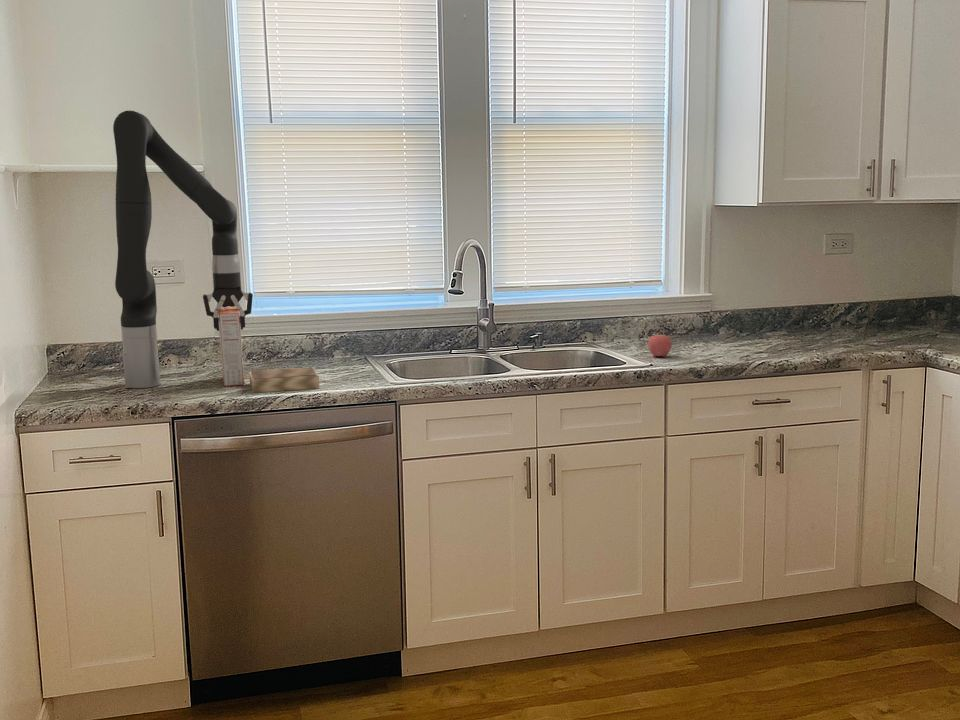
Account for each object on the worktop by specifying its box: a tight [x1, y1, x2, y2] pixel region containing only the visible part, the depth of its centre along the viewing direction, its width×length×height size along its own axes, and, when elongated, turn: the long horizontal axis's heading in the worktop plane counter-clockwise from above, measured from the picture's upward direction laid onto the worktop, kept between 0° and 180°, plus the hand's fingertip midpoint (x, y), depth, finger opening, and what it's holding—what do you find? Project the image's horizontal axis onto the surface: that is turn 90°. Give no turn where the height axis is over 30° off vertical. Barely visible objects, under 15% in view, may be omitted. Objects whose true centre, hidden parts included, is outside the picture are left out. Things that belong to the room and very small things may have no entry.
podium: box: [249, 366, 320, 394], centre depth 259 cm, size 18×13×4 cm
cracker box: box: [218, 306, 245, 387], centre depth 264 cm, size 14×6×21 cm, turn 16°
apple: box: [647, 332, 673, 357], centre depth 298 cm, size 7×7×8 cm
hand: (229, 329), depth 263 cm, fingers closed on cracker box, 6 cm apart
